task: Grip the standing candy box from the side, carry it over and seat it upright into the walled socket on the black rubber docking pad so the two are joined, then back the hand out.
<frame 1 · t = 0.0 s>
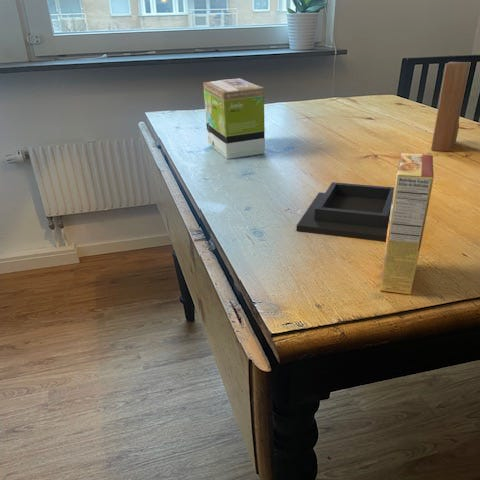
wooden block: (443, 147, 119), on the table
dock pad: (354, 217, 85), on the table
candy box: (397, 278, 67), on the table
tea box: (235, 150, 123), on the table
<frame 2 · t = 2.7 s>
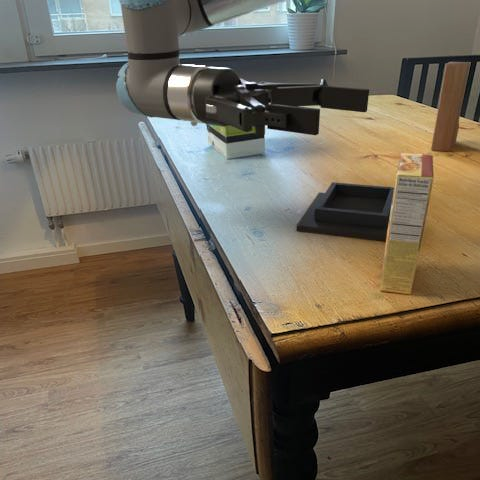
hand: (344, 110, 61), 20 cm above the table, tool horizontal, fingers open, 13 cm apart
nothing on the table moved.
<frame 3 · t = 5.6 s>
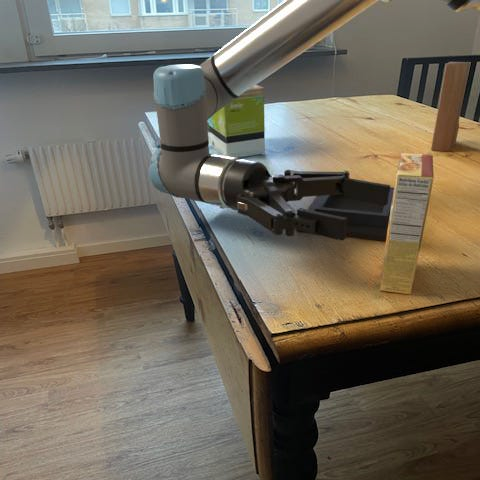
hand: (368, 211, 65), 8 cm above the table, tool horizontal, fingers open, 13 cm apart
nothing on the table moved.
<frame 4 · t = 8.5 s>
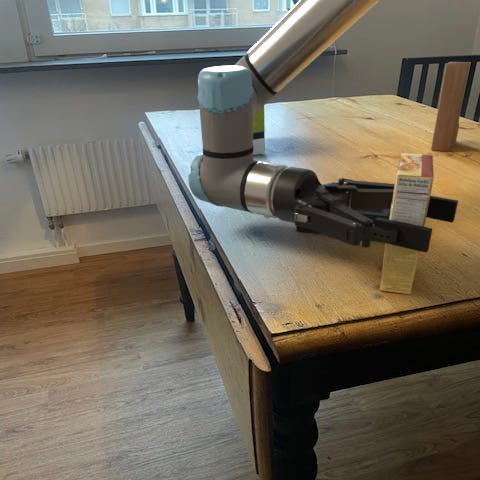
hand: (443, 225, 60), 9 cm above the table, tool horizontal, fingers closed on candy box, 9 cm apart
candy box: (397, 278, 67), on the table, touching gripper
everything else where it was.
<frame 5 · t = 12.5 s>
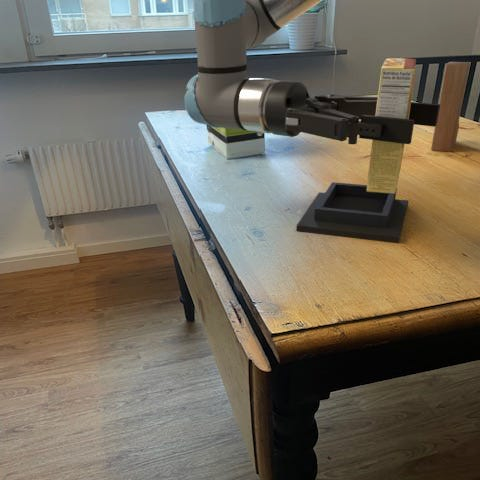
hand: (425, 123, 64), 18 cm above the table, tool horizontal, fingers closed on candy box, 9 cm apart
candy box: (383, 184, 71), point 9 cm above the table, touching gripper
everything else where it was.
when the fingers open (9 cm above the table, at t = 17.0 s): candy box stays where it is, resting on dock pad.
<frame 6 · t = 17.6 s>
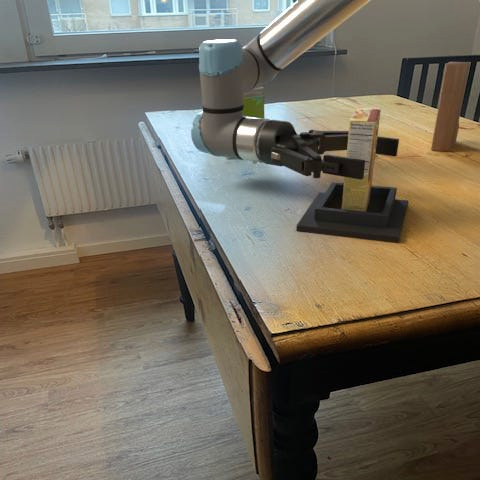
hand: (381, 158, 79), 10 cm above the table, tool horizontal, fingers open, 13 cm apart
candy box: (355, 210, 86), point 1 cm above the table, touching dock pad
everything else where it was.
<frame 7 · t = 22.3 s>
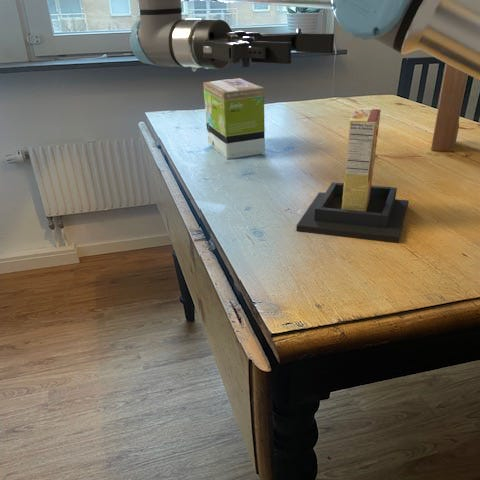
hand: (312, 48, 77), 25 cm above the table, tool horizontal, fingers open, 13 cm apart
nothing on the table moved.
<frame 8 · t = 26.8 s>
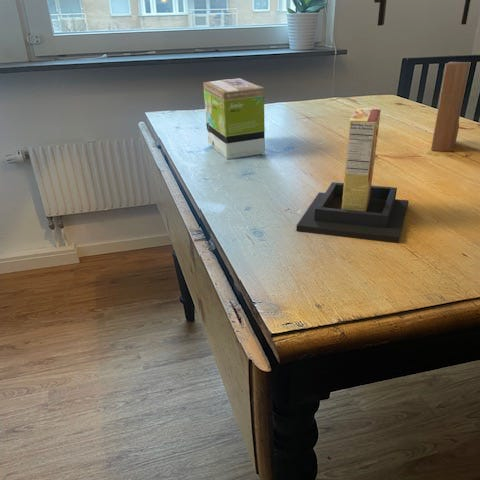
hand: (421, 24, 86), 27 cm above the table, tool pointing down, fingers open, 13 cm apart
nothing on the table moved.
at the end: candy box 0.1 cm from the target spot on the dock pad, point 0.8 cm above the dock pad's base; candy box tilted 0°; the gripper is holding nothing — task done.
